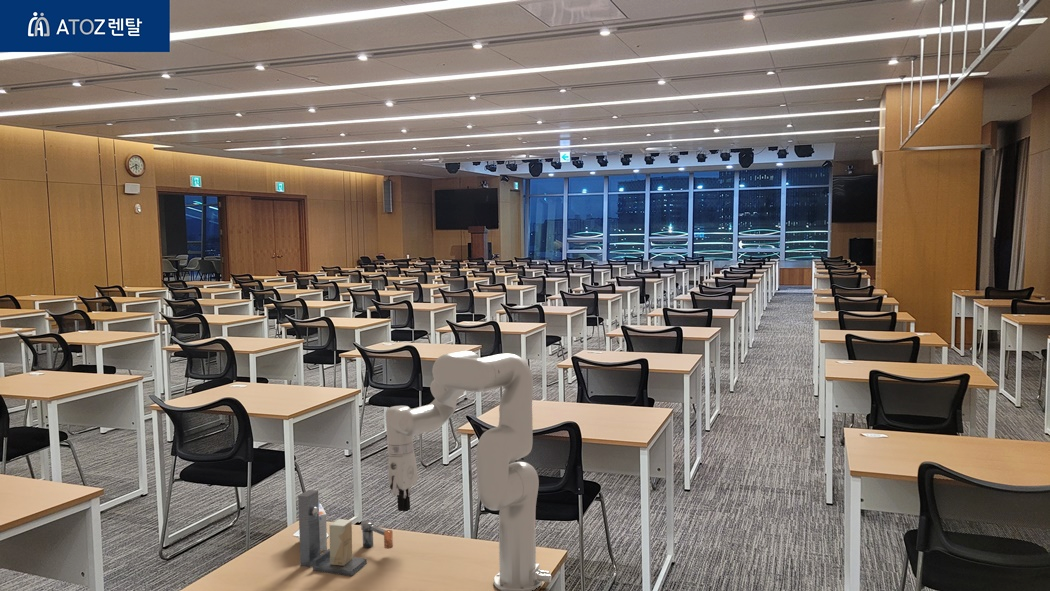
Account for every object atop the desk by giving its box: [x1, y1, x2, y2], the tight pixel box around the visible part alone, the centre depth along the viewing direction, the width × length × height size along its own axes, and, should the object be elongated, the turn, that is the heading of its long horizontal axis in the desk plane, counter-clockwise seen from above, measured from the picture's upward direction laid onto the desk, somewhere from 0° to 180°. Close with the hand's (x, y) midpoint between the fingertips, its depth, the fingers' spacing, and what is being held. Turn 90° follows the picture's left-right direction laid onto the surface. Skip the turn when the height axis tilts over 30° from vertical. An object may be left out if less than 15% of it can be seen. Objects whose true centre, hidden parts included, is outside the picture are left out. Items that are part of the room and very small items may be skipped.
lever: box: [360, 520, 394, 550], centre depth 213 cm, size 13×4×5 cm, turn 48°
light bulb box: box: [319, 503, 328, 552], centre depth 217 cm, size 11×7×11 cm, turn 25°
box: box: [329, 518, 353, 566], centre depth 202 cm, size 5×4×11 cm
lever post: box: [361, 530, 374, 549], centre depth 216 cm, size 3×3×5 cm
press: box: [297, 489, 368, 577], centre depth 202 cm, size 17×8×20 cm, turn 72°
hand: (404, 510), depth 216 cm, fingers closed
